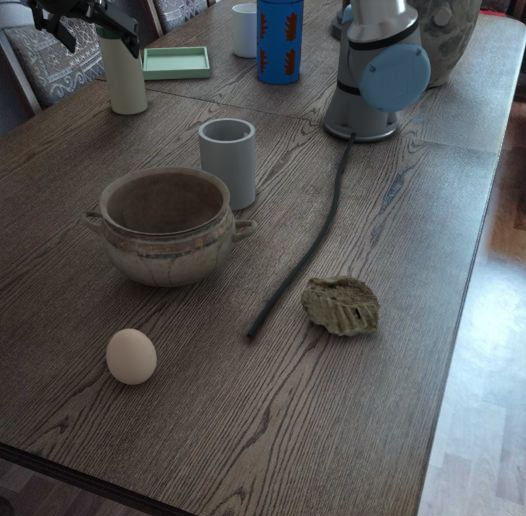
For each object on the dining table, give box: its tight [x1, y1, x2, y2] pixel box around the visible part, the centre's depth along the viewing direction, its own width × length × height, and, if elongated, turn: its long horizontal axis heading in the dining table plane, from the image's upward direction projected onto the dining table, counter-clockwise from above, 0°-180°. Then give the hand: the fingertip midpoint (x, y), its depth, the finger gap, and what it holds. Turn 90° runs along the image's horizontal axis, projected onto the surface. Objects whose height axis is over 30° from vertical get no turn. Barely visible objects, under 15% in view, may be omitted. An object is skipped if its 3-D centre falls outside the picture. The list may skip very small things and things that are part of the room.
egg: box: [105, 328, 158, 386], centre depth 65 cm, size 6×6×8 cm
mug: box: [231, 3, 257, 59], centre depth 146 cm, size 9×12×11 cm
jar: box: [97, 35, 149, 115], centre depth 118 cm, size 8×8×16 cm
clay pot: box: [406, 0, 483, 89], centre depth 126 cm, size 22×23×30 cm
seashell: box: [300, 275, 381, 337], centre depth 73 cm, size 11×7×10 cm
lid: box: [94, 17, 138, 39], centre depth 112 cm, size 8×8×2 cm
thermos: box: [256, 0, 305, 85], centre depth 128 cm, size 11×11×25 cm
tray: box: [142, 46, 211, 81], centre depth 140 cm, size 16×16×2 cm
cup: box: [197, 117, 256, 212], centre depth 93 cm, size 9×9×12 cm
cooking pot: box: [79, 165, 258, 288], centre depth 78 cm, size 25×19×12 cm
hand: (105, 49), depth 109 cm, fingers open, 13 cm apart
